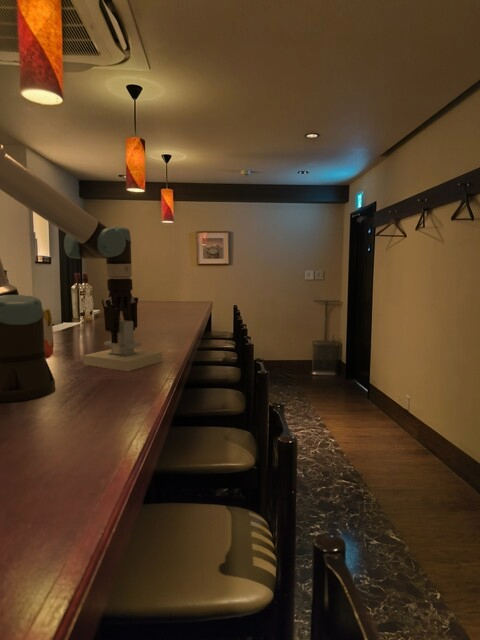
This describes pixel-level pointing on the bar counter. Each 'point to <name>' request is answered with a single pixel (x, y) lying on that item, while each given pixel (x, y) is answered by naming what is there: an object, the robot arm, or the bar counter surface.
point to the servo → (125, 339)
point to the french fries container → (48, 333)
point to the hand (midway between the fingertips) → (122, 351)
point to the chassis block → (123, 360)
